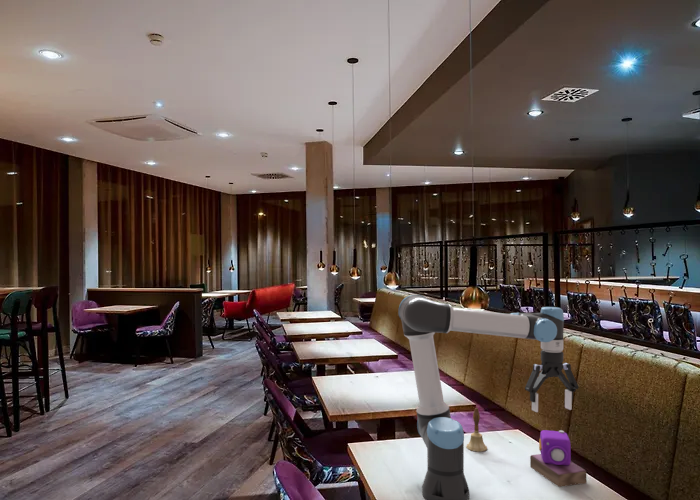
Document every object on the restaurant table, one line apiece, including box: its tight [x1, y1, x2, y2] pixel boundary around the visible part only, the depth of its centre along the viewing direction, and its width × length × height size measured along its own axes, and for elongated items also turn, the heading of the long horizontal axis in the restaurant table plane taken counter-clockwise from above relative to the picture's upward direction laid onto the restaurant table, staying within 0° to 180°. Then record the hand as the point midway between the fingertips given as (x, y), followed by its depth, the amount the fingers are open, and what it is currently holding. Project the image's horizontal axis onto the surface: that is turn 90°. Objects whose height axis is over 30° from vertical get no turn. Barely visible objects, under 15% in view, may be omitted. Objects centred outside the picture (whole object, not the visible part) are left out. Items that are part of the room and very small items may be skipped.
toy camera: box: [538, 429, 572, 465], centre depth 174 cm, size 11×14×10 cm
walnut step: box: [529, 453, 587, 488], centre depth 174 cm, size 11×16×4 cm
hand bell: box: [465, 407, 488, 453], centre depth 199 cm, size 8×8×16 cm
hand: (551, 409), depth 175 cm, fingers open, 13 cm apart
